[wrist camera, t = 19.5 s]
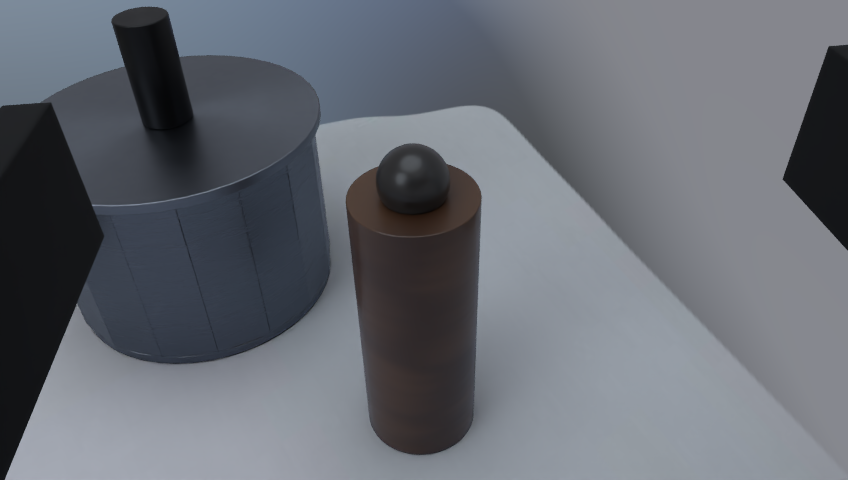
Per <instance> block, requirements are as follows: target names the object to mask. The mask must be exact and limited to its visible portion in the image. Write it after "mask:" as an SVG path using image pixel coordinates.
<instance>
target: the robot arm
mask: <svg viewBox="0 0 848 480" xmlns="http://www.w3.org/2000/svg"><path fill="white" fill-rule="evenodd" d="M783 180H784V181H785V182H786V183H787V184H788V185H789V187H790V188H791V189H792V190H793V191H794V192H795V193H796V194H797V195H798V196H799V198H800V199H801V200H802V201H803V202H804V203H805V204H806V205H807V206H808V207H809V209H810V210H811V211H812V212H813V213H814V214H815V215H816V216H817V217H818V218H819V220H820V221H821V222H822V223H823V224H824V225H825V226H826V227H827V228H828V229H829V230H830V232H831V233H832V234H833V235H834V236H835V237H836V238H837V239H838V240H839V241H840V243H841V244H842V245H843V246H844V247H845V248H846V249H847V250H848V45H840V46H829V47H828V50H827V53H826V56H825V59H824V62H823V65H822V67H821V70H820V73H819V76H818V79H817V82H816V85H815V88H814V90H813V93H812V96H811V99H810V102H809V105H808V108H807V111H806V114H805V116H804V120H803V122H802V125H801V128H800V131H799V134H798V136H797V140H796V142H795V145H794V148H793V151H792V154H791V157H790V160H789V162H788V165H787V168H786V171H785V174H784V177H783ZM103 238H104V234H103V231H102V229H101V226H100V224H99V221H98V219H97V216H96V214H95V211H94V209H93V206H92V204H91V201H90V199H89V196H88V194H87V191H86V189H85V186H84V184H83V181H82V179H81V176H80V174H79V171H78V169H77V166H76V164H75V161H74V159H73V156H72V154H71V151H70V148H69V146H68V143H67V141H66V138H65V136H64V133H63V131H62V128H61V126H60V123H59V121H58V118H57V116H56V113H55V111H54V108H53V106H52V103H51V102H49V103H35V104H21V105H7V106H2V107H1V108H0V480H5V477H6V475H7V472H8V470H9V468H10V465H11V463H12V460H13V458H14V455H15V453H16V450H17V448H18V446H19V443H20V441H21V438H22V436H23V433H24V431H25V429H26V426H27V424H28V421H29V419H30V416H31V414H32V411H33V409H34V407H35V404H36V402H37V399H38V397H39V394H40V392H41V390H42V387H43V385H44V382H45V380H46V377H47V375H48V372H49V370H50V368H51V365H52V363H53V360H54V358H55V355H56V353H57V351H58V348H59V346H60V343H61V341H62V338H63V336H64V333H65V331H66V329H67V326H68V324H69V321H70V319H71V316H72V314H73V312H74V309H75V307H76V304H77V302H78V299H79V297H80V294H81V292H82V290H83V287H84V285H85V282H86V280H87V277H88V275H89V273H90V270H91V268H92V265H93V263H94V260H95V258H96V255H97V253H98V251H99V248H100V246H101V243H102V241H103Z"/></svg>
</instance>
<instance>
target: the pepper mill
mask: <svg viewBox="0 0 848 480" xmlns="http://www.w3.org/2000/svg"><path fill="white" fill-rule="evenodd" d="M481 197H482V196H481V191H480V189H479V186H478V185H477V183H476V182H475V180H474V179H473V178H472V177H471V176H469V175H468V174H467V173H465V172H464V171H462V170H460V169H458V168H456V167H454V166H451V165H448V164H446V163H445V161H444V160H443V158H442V157H441V156H440V155H439V154H438V153H437V152H436V151H435V150H433V149H431V148H430V147H427V146H425V145H421V144H405V145H401V146H399V147H396V148H395V149H393V150H391V151H390V152H389V153H388V154H387V155H386V156H385V157H384V158H383V160H382V161H381V163H380V165H379V166H378V167H376V168H373V169H371V170H369V171H368V172H366V173H364V174H363V175H361V176H360V177H359V178H357V179H356V180H355V181H354V182H353V184H352V185H351V186H350V188H349V190H348V192H347V196H346V209H347V218H348V227H349V236H350V245H351V254H352V263H353V272H354V281H355V290H356V299H357V308H358V317H359V327H360V336H361V345H362V354H363V363H364V372H365V381H366V390H367V399H368V408H369V417H370V422H371V425H372V427H373V429H374V431H375V433H376V434H377V435H378V437H379V438H380V439H381V440H382V441H384V442H385V443H386V444H387V445H389V446H391V447H392V448H394V449H396V450H399V451H402V452H405V453H410V454H431V453H436V452H439V451H442V450H445V449H447V448H449V447H451V446H453V445H454V444H455V443H457V442H458V441H459V440H460V439H461V438H462V437H463V436H464V435H465V434H466V433H467V431H468V429H469V428H470V426H471V423H472V420H473V414H474V389H475V361H476V334H477V307H478V279H479V252H480V225H481Z"/></svg>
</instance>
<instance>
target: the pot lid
mask: <svg viewBox="0 0 848 480" xmlns="http://www.w3.org/2000/svg"><path fill="white" fill-rule="evenodd" d="M112 25H113V28H114V32H115V35H116V38H117V41H118V45H119V48H120V51H121V55H122V58H123V61H124V65H125V67H121V68H118V69H114V70H111V71H108V72H104V73H102V74H99V75H96V76H93V77H90V78H87V79H85V80H83V81H80V82H78V83H76V84H73V85H71V86H69V87H67V88H65V89H63V90H61V91H59V92H57V93H55V94H54V95H52V96H50V97H49V98H47V99H45V100H44V101H42V102H41V103H49V102H51V103H52V106H53V108H54V111H55V113H56V116H57V118H58V121H59V123H60V126H61V128H62V131H63V133H64V136H65V138H66V141H67V143H68V146H69V148H70V151H71V154H72V156H73V159H74V161H75V164H76V166H77V169H78V171H79V174H80V176H81V179H82V181H83V184H84V186H85V189H86V191H87V194H88V196H89V199H90V201H91V204H92V206H93V209H94V211H95V214H96V215H134V214H146V213H155V212H163V211H169V210H174V209H179V208H185V207H189V206H193V205H197V204H201V203H205V202H209V201H212V200H215V199H218V198H221V197H224V196H227V195H230V194H233V193H235V192H238V191H240V190H242V189H245V188H247V187H250V186H252V185H254V184H256V183H258V182H260V181H262V180H264V179H266V178H267V177H269V176H271V175H273V174H274V173H276V172H277V171H279V170H280V169H282V168H284V167H285V166H286V165H288V164H289V163H290V162H291V161H293V160H294V159H295V158H296V157H298V156H299V155H300V154H301V152H302V151H303V150H304V149H305V148H306V147H307V146H308V145H309V143H310V142H311V140H312V139H313V138H314V136H315V134H316V132H317V129H318V127H319V123H320V117H321V113H320V104H319V99H318V96H317V94H316V92H315V90H314V89H313V88H312V86H311V85H310V84H309V83H308V82H307V81H306V80H305V79H304V78H303V77H301V76H300V75H298V74H296V73H295V72H293V71H291V70H289V69H286V68H284V67H282V66H279V65H276V64H273V63H270V62H266V61H261V60H256V59H251V58H244V57H235V56H213V55H207V56H186V57H179V54H178V50H177V46H176V42H175V38H174V34H173V30H172V26H171V22H170V18H169V14H168V12H167V11H166V10H164V9H162V8H158V7H139V8H133V9H129V10H126V11H123V12H121V13H119V14H117V15H115V16H114V17H113V18H112Z"/></svg>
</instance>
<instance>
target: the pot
mask: <svg viewBox="0 0 848 480" xmlns="http://www.w3.org/2000/svg"><path fill="white" fill-rule="evenodd" d="M96 216H97V219H98V221H99V224H100V226H101V229H102V231H103V234H104V238H103V241H102V243H101V246H100V248H99V251H98V253H97V255H96V258H95V260H94V263H93V265H92V268H91V270H90V273H89V275H88V277H87V280H86V282H85V285H84V287H83V290H82V292H81V294H80V297H79V299H78V302H77V303H78V306H79V308H80V310H81V312H82V315H83V317H84V319H85V321H86V323H87V324H88V325H89V326H90V327H91V328H92V329H93V331H94V332H95V334H96V335H97V336H98V337H99V338H100V339H101V340H102V341H103V342H104V343H106V344H107V345H109V346H110V347H112V348H113V349H115V350H117V351H119V352H121V353H123V354H125V355H128V356H131V357H134V358H138V359H141V360H146V361H152V362H158V363H195V362H202V361H209V360H214V359H219V358H223V357H227V356H231V355H234V354H237V353H240V352H243V351H246V350H249V349H251V348H253V347H256V346H258V345H260V344H263V343H265V342H266V341H268V340H270V339H272V338H274V337H276V336H277V335H279V334H281V333H282V332H284V331H285V330H286V329H288V328H289V327H291V326H292V325H293V324H295V323H296V322H297V321H298V320H299V319H300V318H302V317H303V316H304V315H305V314H306V313H307V312H308V311H309V310H310V308H311V307H312V306H313V305H314V304H315V302H316V301H317V299H318V298H319V297H320V295H321V293H322V291H323V289H324V287H325V285H326V283H327V280H328V276H329V273H330V264H331V262H330V241H329V234H328V226H327V219H326V211H325V204H324V196H323V189H322V181H321V174H320V166H319V159H318V151H317V144H316V136H314V138H313V139H312V140H311V142H310V143H309V145H308V146H307V147H306V148H305V149H304V150H303V151H302V152H301V154H300V155H299V156H298V157H296V158H295V159H294V160H293V161H291V162H290V163H289V164H288V165H286V166H285V167H284V168H282V169H280V170H279V171H277V172H276V173H274V174H273V175H271V176H269V177H267V178H266V179H264V180H262V181H260V182H258V183H256V184H254V185H252V186H250V187H247V188H245V189H242V190H240V191H238V192H235V193H233V194H230V195H227V196H224V197H221V198H218V199H215V200H212V201H209V202H205V203H201V204H197V205H193V206H189V207H185V208H179V209H174V210H169V211H163V212H155V213H146V214H134V215H96Z"/></svg>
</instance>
